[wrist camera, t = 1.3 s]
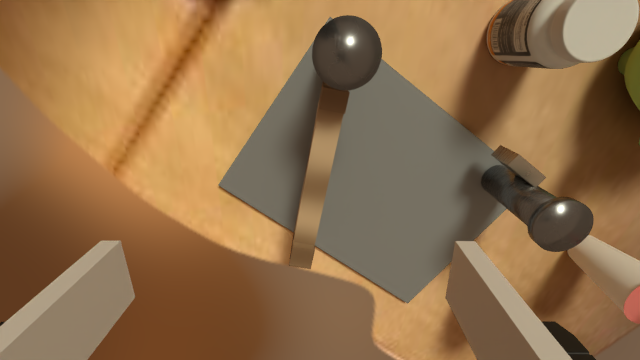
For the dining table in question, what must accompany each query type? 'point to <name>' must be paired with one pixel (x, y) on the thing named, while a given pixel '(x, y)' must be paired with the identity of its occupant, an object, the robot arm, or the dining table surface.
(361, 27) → the hinge post
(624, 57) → the teapot
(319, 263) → the dining table surface
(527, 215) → the post
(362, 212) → the base board
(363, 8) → the dining table surface
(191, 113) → the dining table surface
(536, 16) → the pill bottle
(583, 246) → the cup
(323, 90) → the wooden block
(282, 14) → the dining table surface
